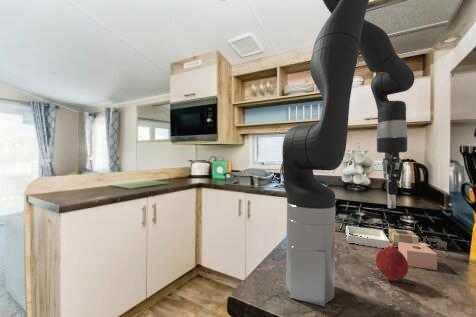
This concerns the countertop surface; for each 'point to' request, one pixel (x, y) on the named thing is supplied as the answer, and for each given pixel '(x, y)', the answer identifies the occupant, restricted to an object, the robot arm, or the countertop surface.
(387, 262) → the onion
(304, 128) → the robot arm
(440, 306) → the countertop surface
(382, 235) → the tray
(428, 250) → the terracotta block
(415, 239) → the oak block
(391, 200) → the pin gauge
